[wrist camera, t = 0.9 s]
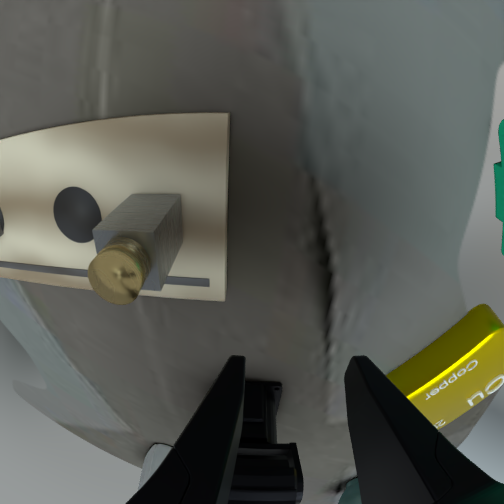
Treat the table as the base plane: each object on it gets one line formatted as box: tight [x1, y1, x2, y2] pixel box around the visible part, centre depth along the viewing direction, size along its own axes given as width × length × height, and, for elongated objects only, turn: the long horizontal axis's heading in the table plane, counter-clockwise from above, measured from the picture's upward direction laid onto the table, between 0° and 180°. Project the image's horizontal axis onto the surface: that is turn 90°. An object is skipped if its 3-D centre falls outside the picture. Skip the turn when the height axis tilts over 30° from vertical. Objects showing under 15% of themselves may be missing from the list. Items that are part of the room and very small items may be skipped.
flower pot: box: [338, 478, 362, 504], centre depth 41 cm, size 16×16×11 cm
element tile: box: [386, 304, 504, 430], centre depth 25 cm, size 15×15×5 cm
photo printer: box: [138, 444, 173, 490], centre depth 32 cm, size 10×4×12 cm, turn 154°
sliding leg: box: [88, 194, 183, 305], centre depth 14 cm, size 3×3×7 cm
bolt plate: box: [0, 112, 230, 301], centre depth 15 cm, size 12×26×8 cm, turn 87°
